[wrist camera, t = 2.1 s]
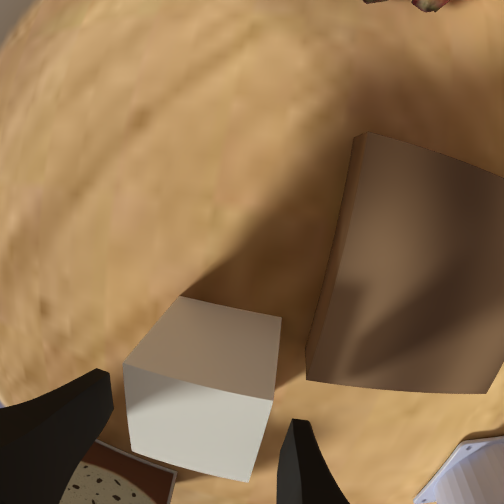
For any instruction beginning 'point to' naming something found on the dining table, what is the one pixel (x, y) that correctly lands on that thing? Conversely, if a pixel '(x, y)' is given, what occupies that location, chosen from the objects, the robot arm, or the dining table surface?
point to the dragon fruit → (421, 4)
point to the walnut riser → (412, 275)
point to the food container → (118, 479)
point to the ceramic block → (203, 387)
